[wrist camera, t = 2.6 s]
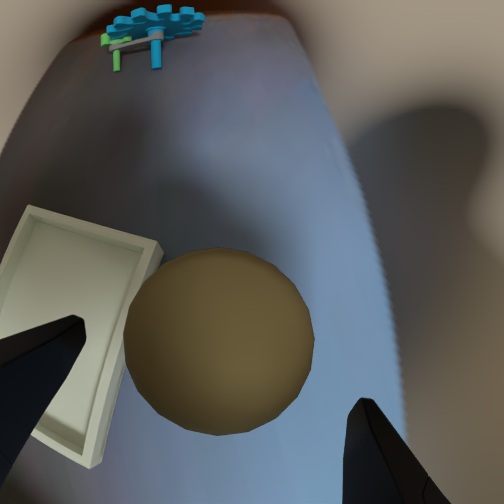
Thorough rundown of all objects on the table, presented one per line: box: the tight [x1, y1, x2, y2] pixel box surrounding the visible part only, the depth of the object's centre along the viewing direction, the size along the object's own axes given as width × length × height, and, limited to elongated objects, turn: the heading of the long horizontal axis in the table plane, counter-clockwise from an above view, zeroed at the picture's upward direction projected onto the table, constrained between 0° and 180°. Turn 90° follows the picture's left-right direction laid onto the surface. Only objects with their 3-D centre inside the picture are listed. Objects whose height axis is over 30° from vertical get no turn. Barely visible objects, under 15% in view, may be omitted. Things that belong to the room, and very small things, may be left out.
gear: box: [101, 5, 205, 72], centre depth 25 cm, size 11×6×10 cm
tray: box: [0, 205, 164, 469], centre depth 16 cm, size 14×11×2 cm
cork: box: [123, 247, 315, 436], centre depth 12 cm, size 6×6×11 cm
